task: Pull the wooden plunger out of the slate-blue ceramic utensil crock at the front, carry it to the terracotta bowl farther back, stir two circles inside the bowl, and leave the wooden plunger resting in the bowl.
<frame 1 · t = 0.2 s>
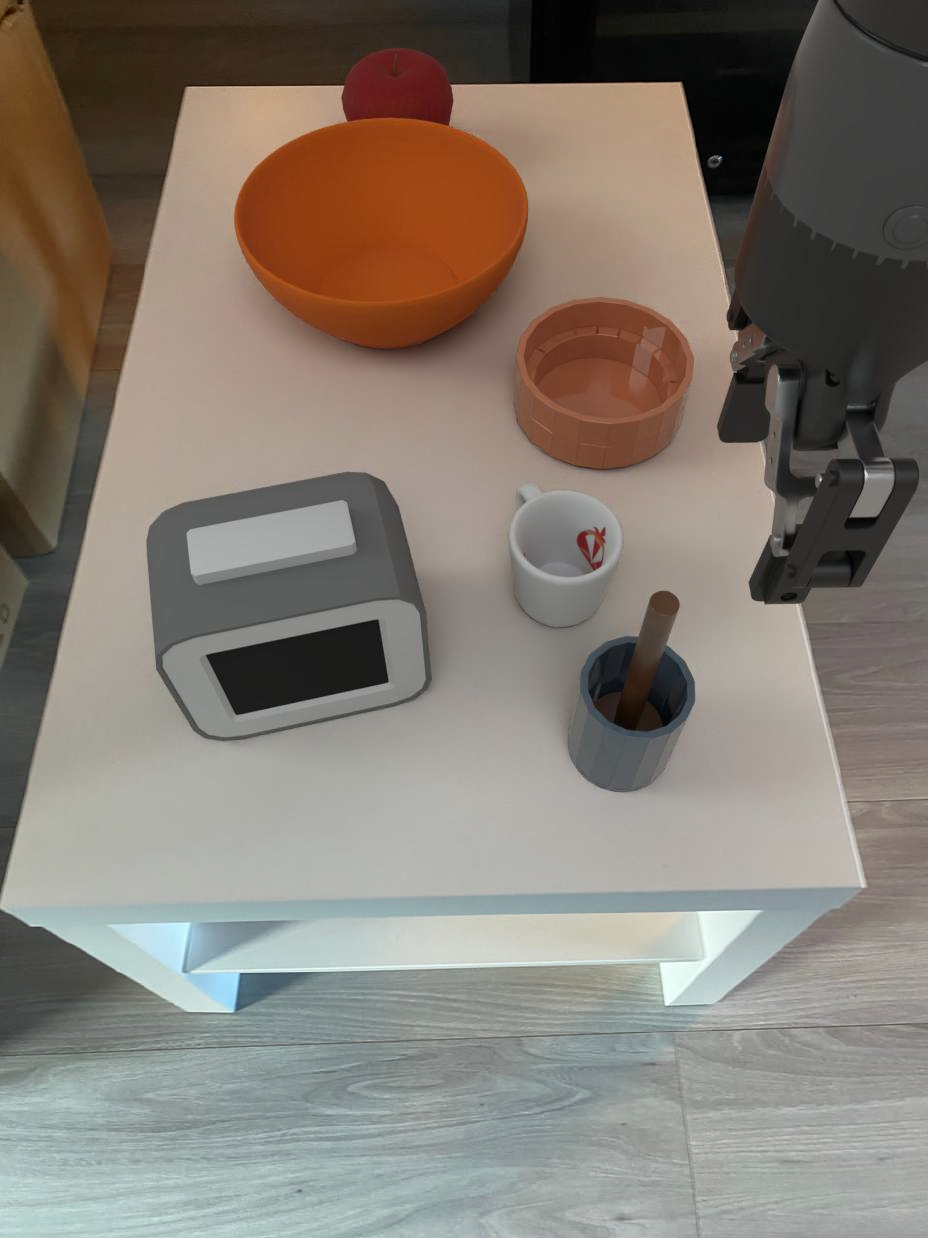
hand: (755, 511, 41), 28 cm above the table, tool pointing down, fingers open, 8 cm apart
bowl: (390, 298, 90), on the table
alarm clock: (308, 655, 70), on the table
apple: (402, 168, 100), on the table
mixing bowl: (596, 409, 82), on the table
utensil crock: (618, 744, 66), on the table
wooden plunger: (619, 741, 65), point 1 cm above the table, touching utensil crock
cup: (549, 583, 73), on the table
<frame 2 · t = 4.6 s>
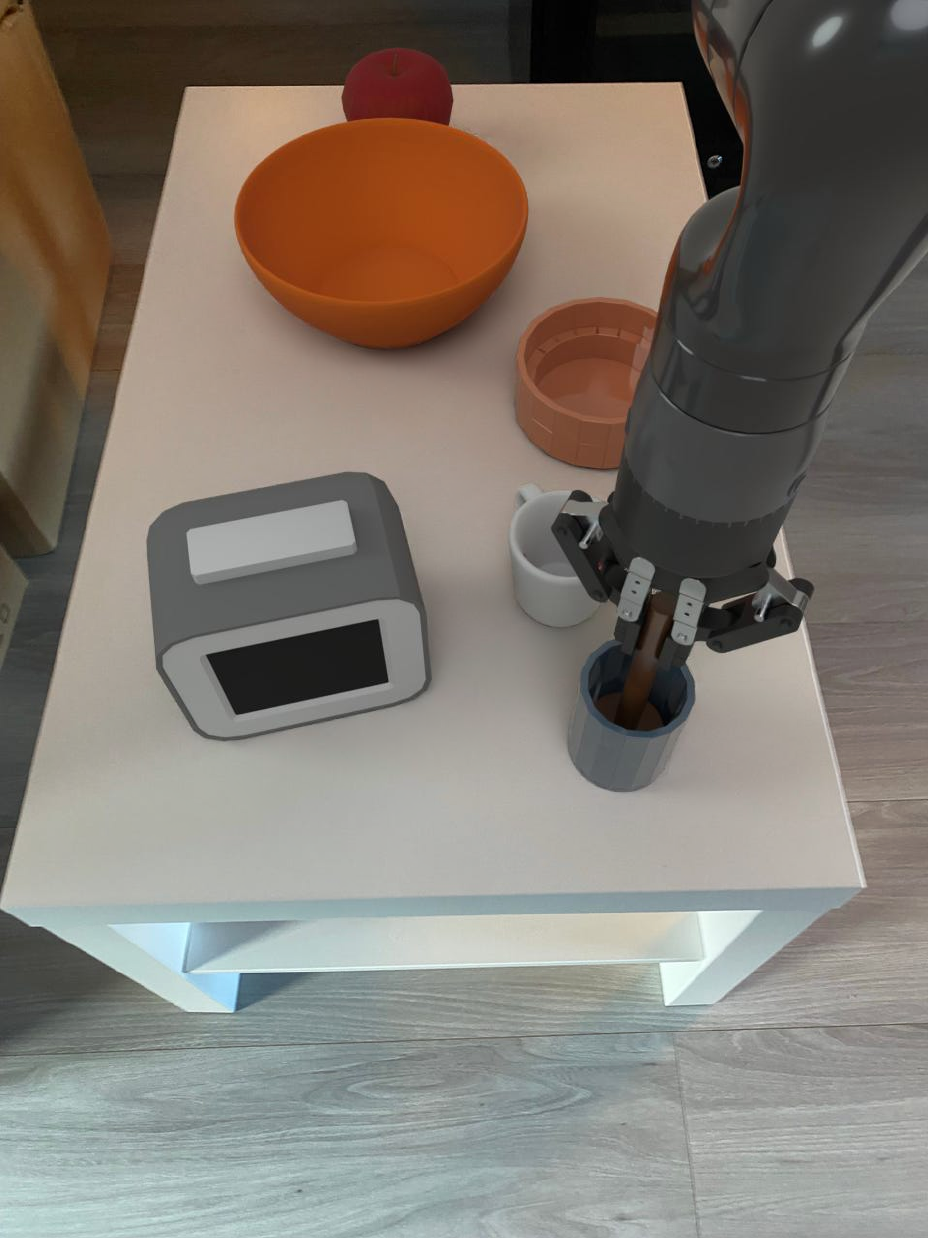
hand: (649, 648, 54), 14 cm above the table, tool pointing down, fingers closed on wooden plunger
wooden plunger: (619, 741, 65), point 1 cm above the table, touching gripper, utensil crock
everything else where it was.
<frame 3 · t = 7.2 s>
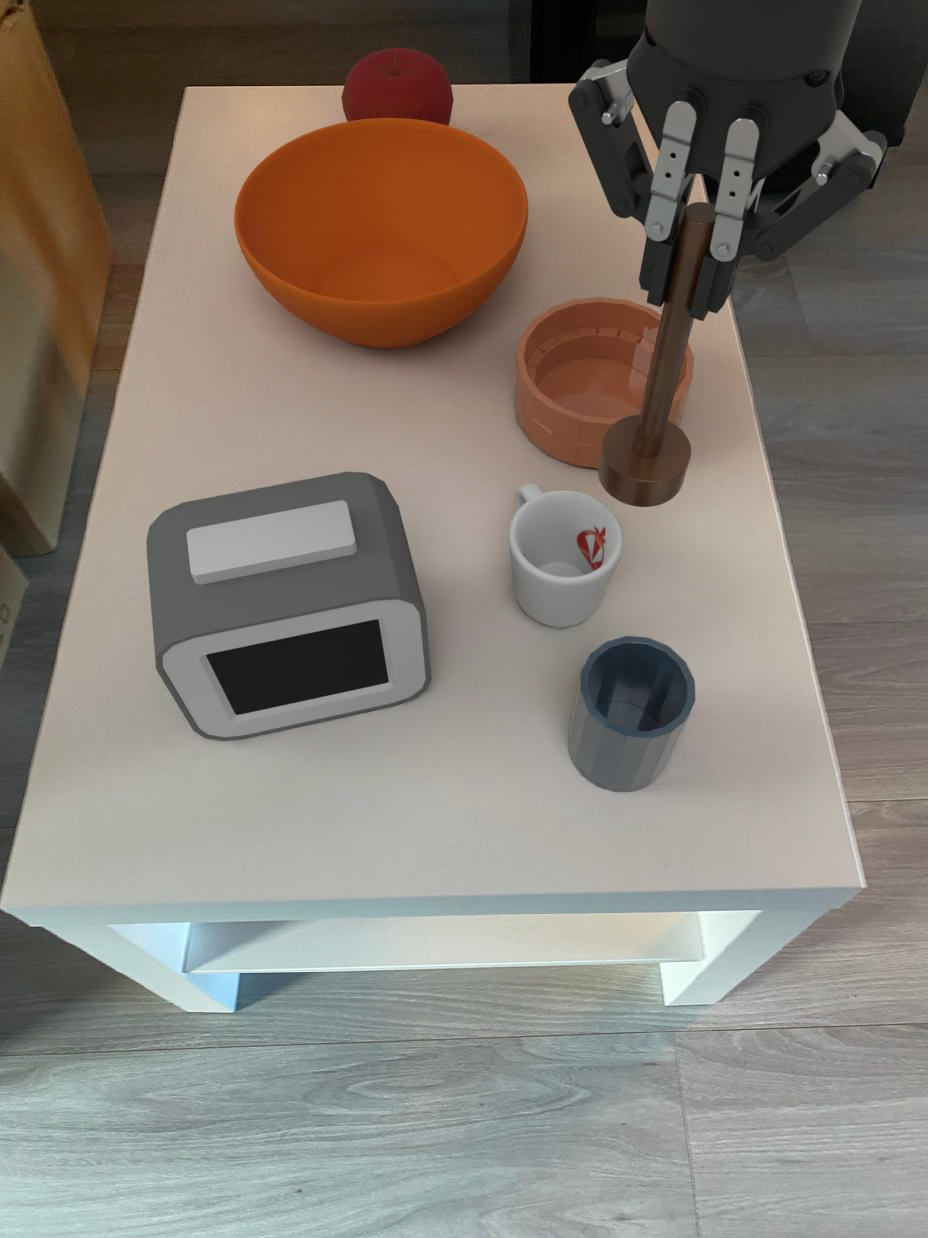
hand: (680, 300, 47), 29 cm above the table, tool pointing down, fingers closed on wooden plunger
wooden plunger: (640, 473, 58), point 16 cm above the table, touching gripper
everything else where it was.
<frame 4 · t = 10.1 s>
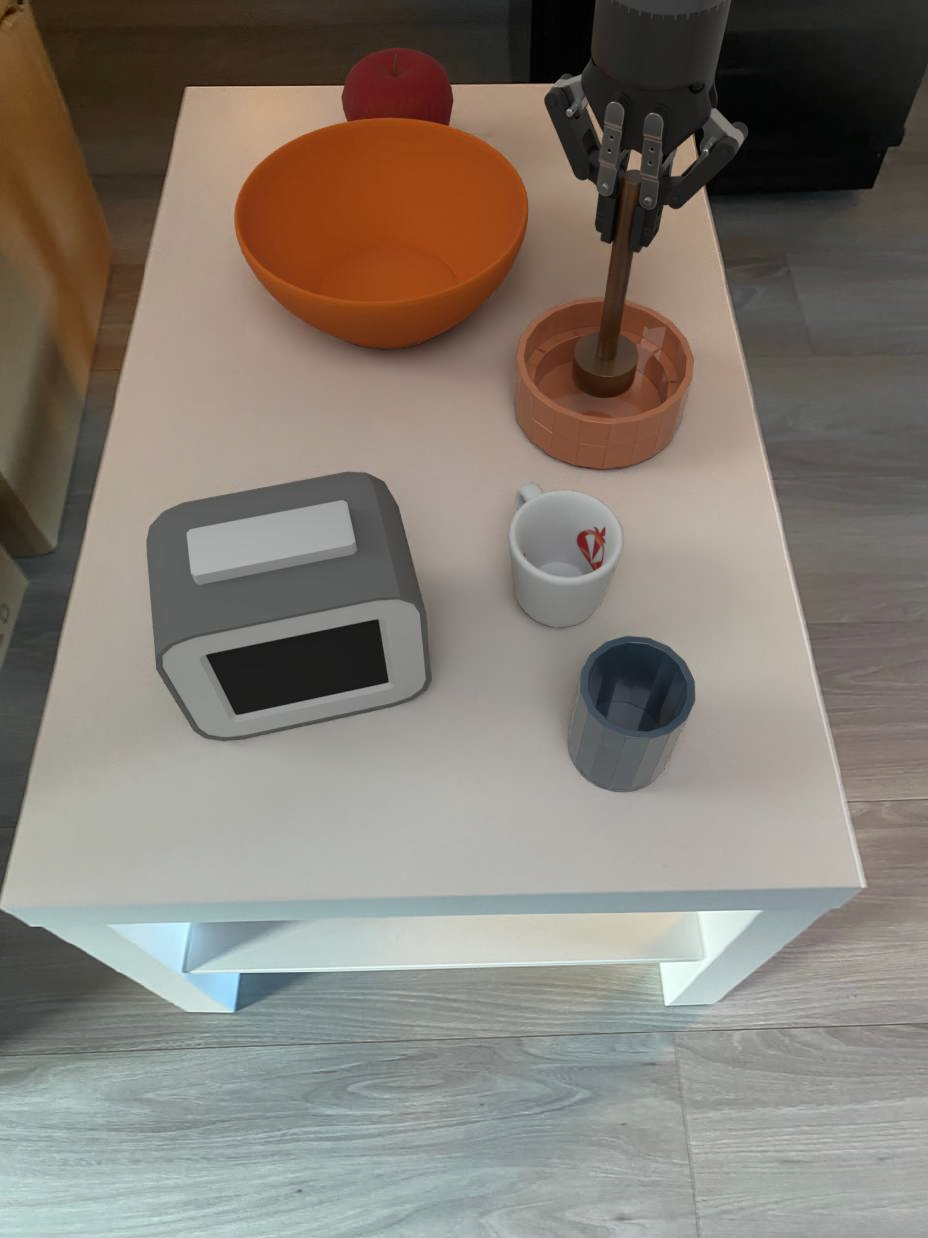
hand: (624, 239, 67), 17 cm above the table, tool pointing down, fingers closed on wooden plunger
wooden plunger: (602, 375, 79), point 4 cm above the table, touching gripper
everything else where it was.
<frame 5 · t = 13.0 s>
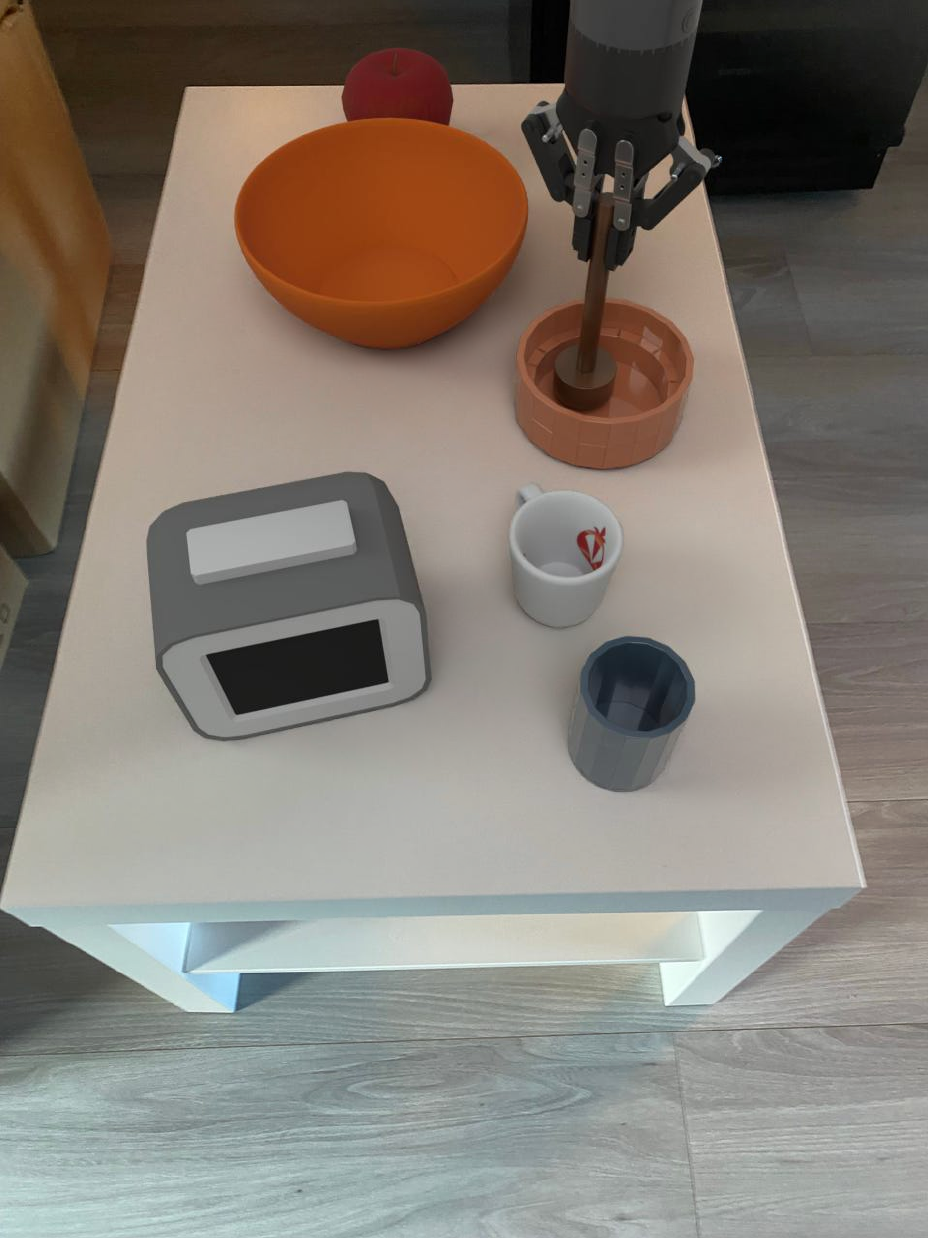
hand: (600, 258, 70), 15 cm above the table, tool pointing down, fingers closed on wooden plunger
wooden plunger: (582, 386, 81), point 2 cm above the table, touching gripper
everything else where it was.
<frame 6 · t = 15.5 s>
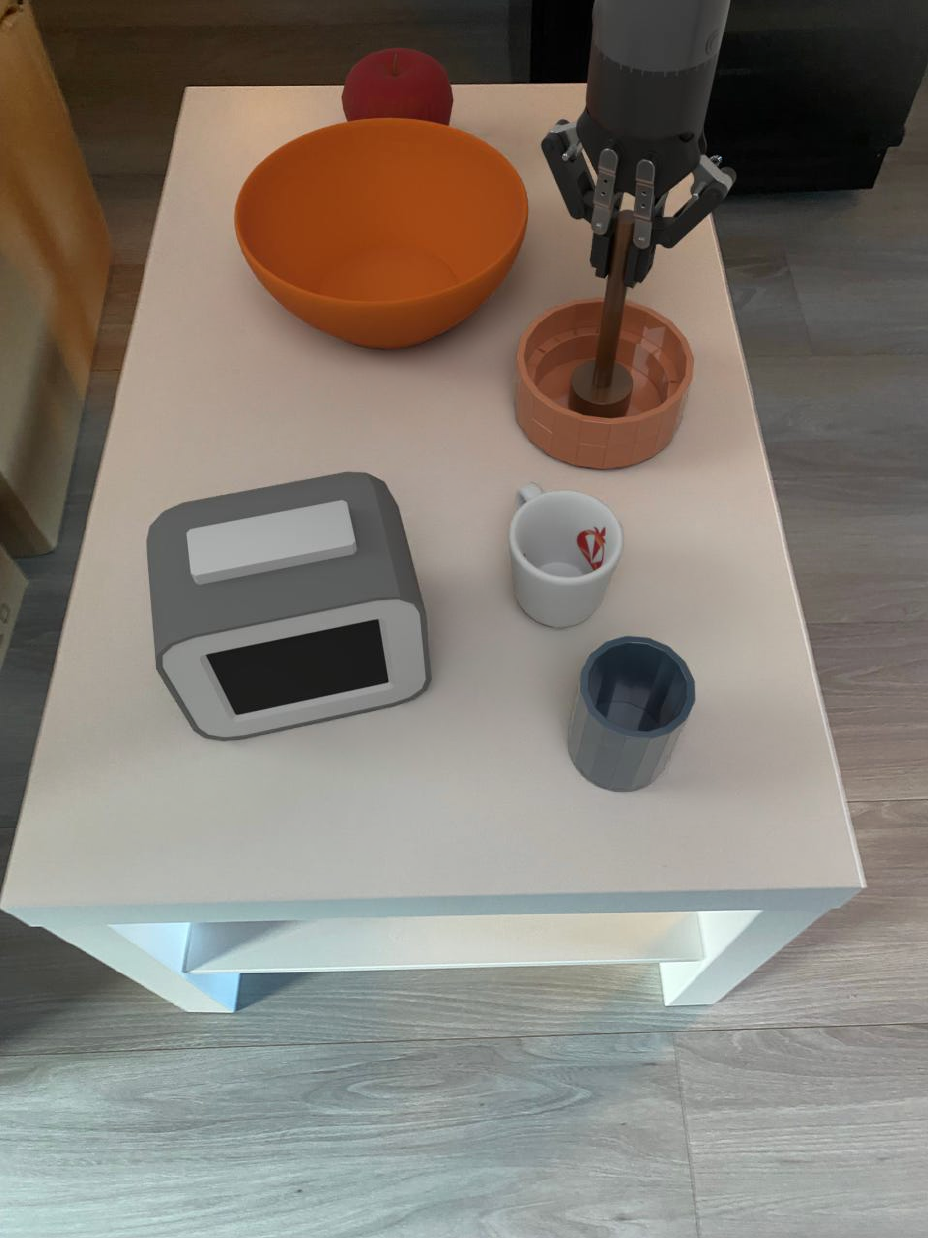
hand: (618, 275, 70), 14 cm above the table, tool pointing down, fingers closed on wooden plunger
wooden plunger: (598, 401, 81), point 1 cm above the table, touching gripper
everything else where it was.
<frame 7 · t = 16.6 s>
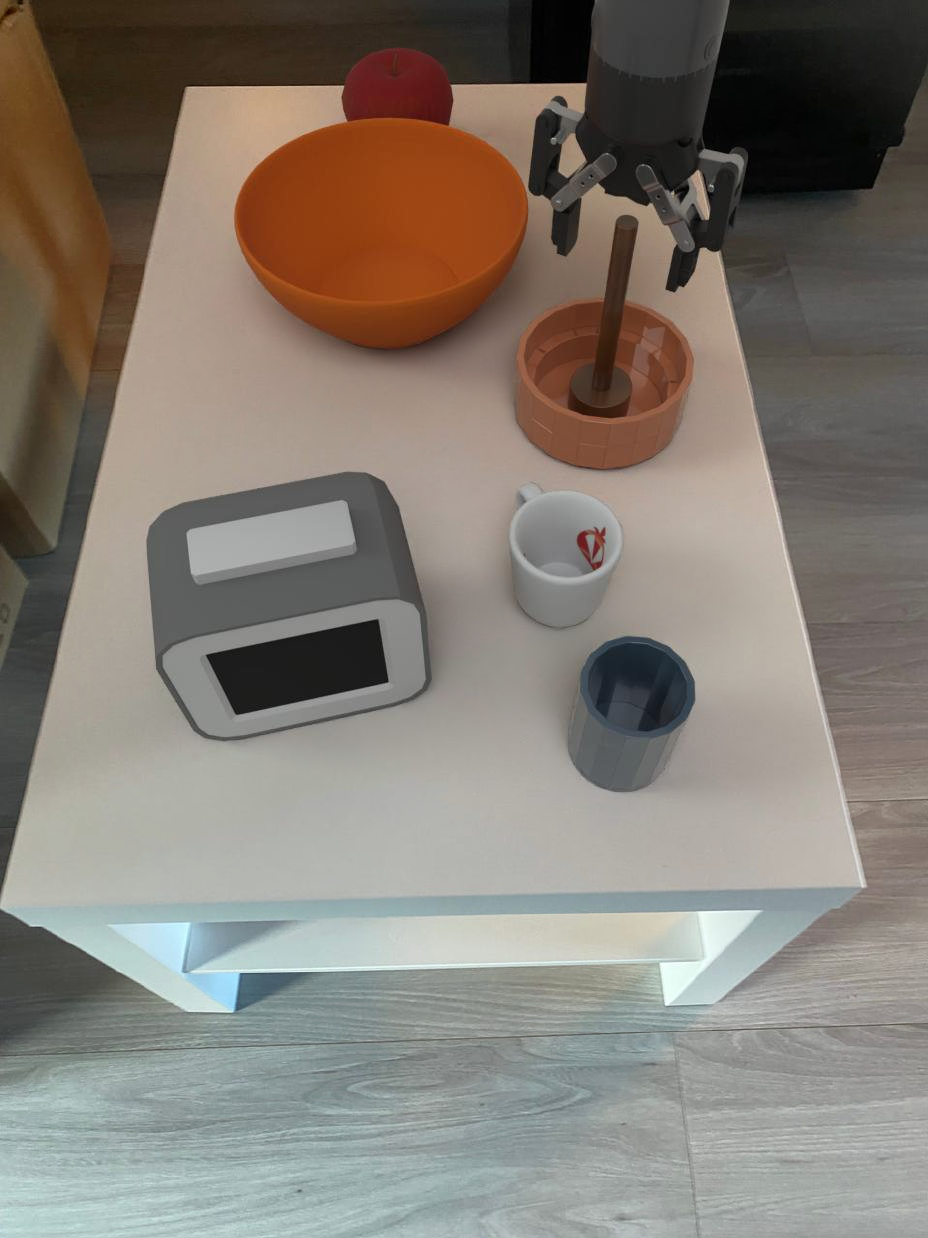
hand: (619, 266, 69), 15 cm above the table, tool pointing down, fingers open, 8 cm apart
wooden plunger: (597, 404, 81), point 1 cm above the table, touching mixing bowl
everything else where it was.
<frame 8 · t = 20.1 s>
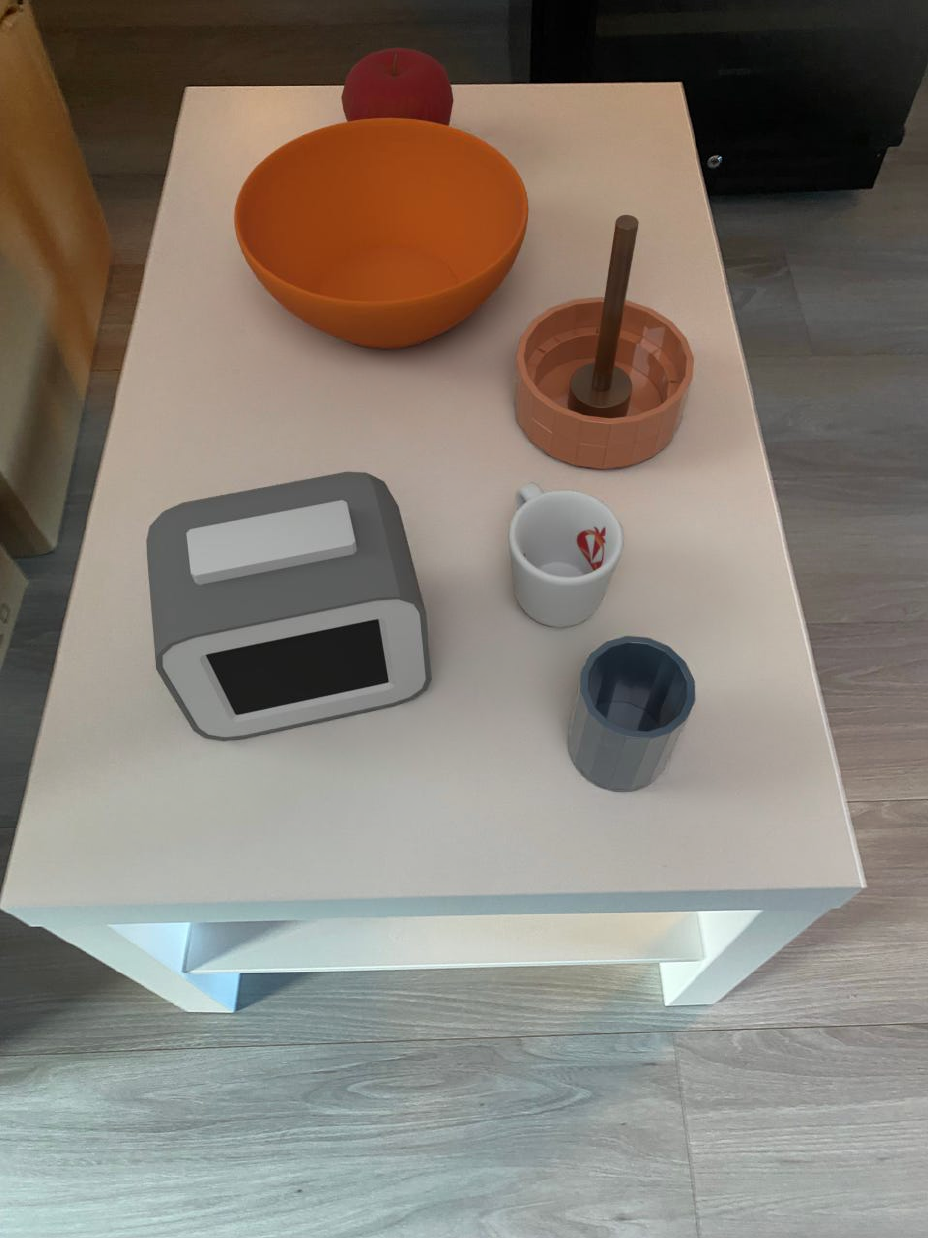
nothing on the table moved.
at the end: wooden plunger inside the target area in the mixing bowl (0.0 cm from its centre), point 0.6 cm above the mixing bowl's base; the gripper is holding nothing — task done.
